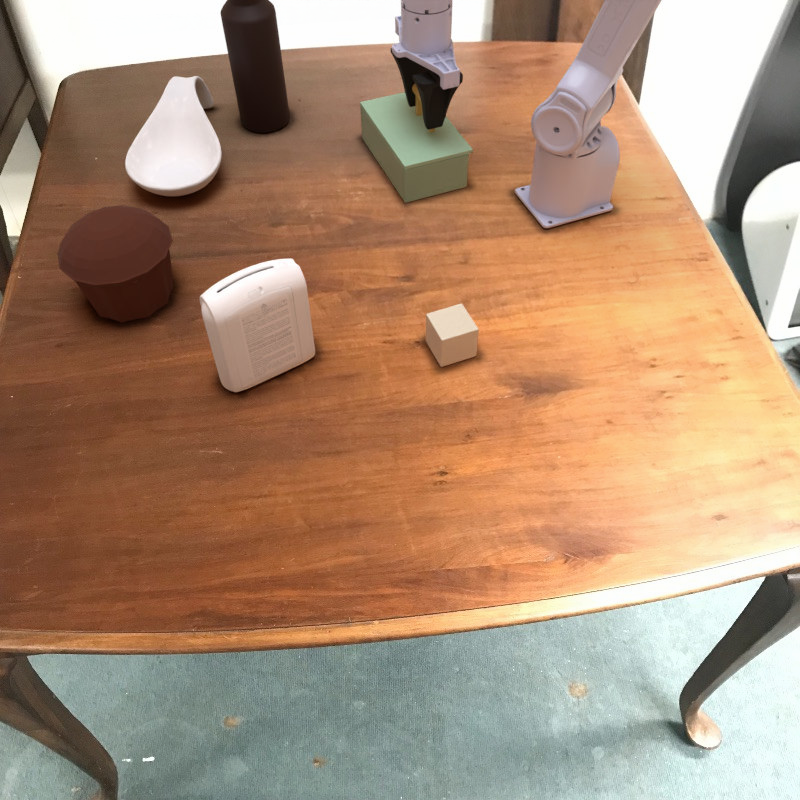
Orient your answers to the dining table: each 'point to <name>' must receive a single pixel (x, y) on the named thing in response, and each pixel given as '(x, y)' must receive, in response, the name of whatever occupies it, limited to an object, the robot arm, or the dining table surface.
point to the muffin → (119, 261)
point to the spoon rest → (176, 142)
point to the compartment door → (413, 131)
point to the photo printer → (258, 323)
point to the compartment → (415, 168)
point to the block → (451, 334)
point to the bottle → (256, 63)
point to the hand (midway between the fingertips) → (425, 115)
